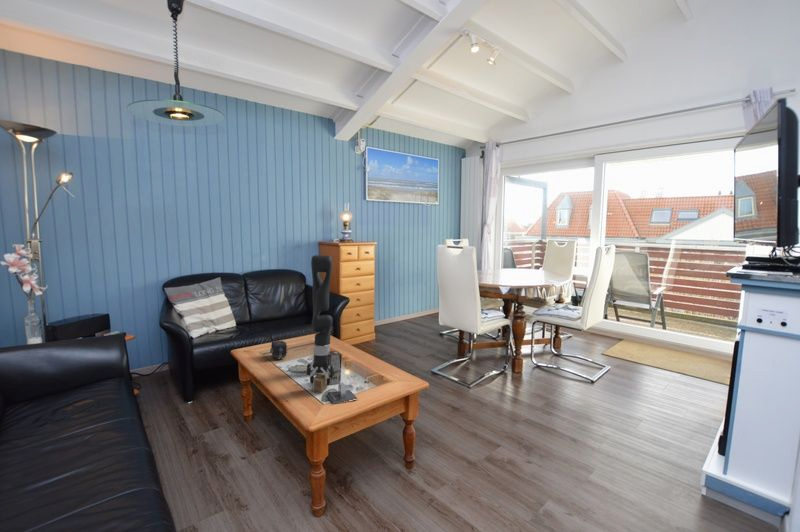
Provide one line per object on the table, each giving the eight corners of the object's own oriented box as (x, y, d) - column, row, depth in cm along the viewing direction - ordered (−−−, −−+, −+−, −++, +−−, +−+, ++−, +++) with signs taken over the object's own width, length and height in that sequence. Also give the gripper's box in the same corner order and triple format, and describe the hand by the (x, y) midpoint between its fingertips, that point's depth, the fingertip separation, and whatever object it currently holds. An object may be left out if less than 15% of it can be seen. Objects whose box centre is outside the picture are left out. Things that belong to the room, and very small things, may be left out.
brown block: (318, 387, 194) (318, 371, 193) (326, 388, 193) (327, 372, 193) (312, 392, 187) (313, 375, 186) (322, 392, 186) (322, 376, 186)
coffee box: (341, 383, 201) (342, 354, 200) (329, 385, 198) (330, 355, 197) (335, 378, 209) (336, 350, 208) (324, 379, 206) (325, 351, 205)
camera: (288, 361, 241) (283, 353, 254) (289, 344, 240) (284, 337, 253) (272, 363, 236) (267, 354, 249) (273, 346, 235) (268, 338, 247)
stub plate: (326, 395, 183) (327, 381, 183) (349, 391, 189) (349, 379, 189) (333, 404, 173) (333, 390, 172) (357, 400, 178) (357, 387, 178)
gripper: (336, 352, 192) (335, 383, 192) (311, 350, 194) (309, 380, 194) (331, 356, 184) (330, 387, 184) (305, 353, 186) (304, 385, 187)
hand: (319, 384), depth 189 cm, fingers open, 8 cm apart
